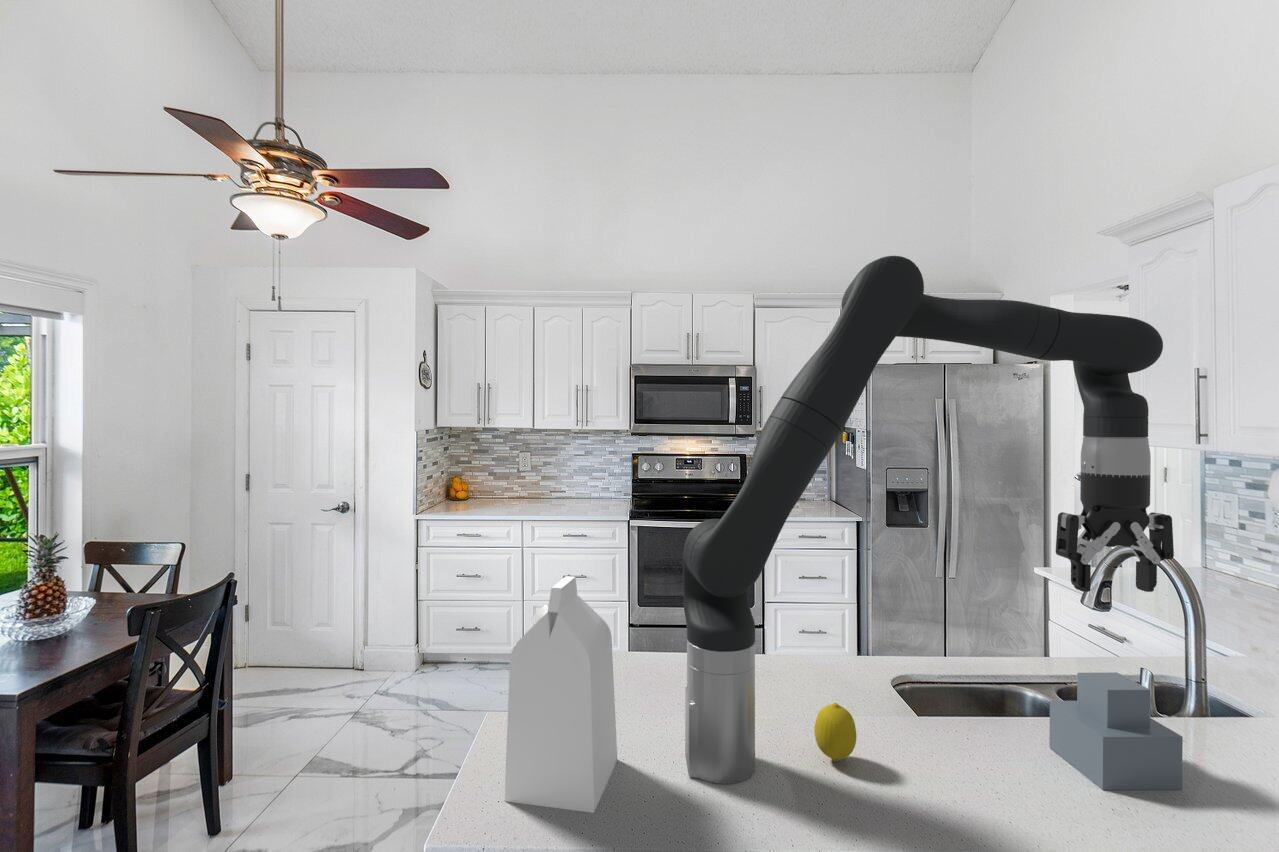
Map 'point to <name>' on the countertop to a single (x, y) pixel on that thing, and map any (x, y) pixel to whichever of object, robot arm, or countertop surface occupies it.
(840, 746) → the lemon
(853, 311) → the robot arm
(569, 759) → the milk
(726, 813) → the countertop surface
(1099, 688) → the gray stepped step block
